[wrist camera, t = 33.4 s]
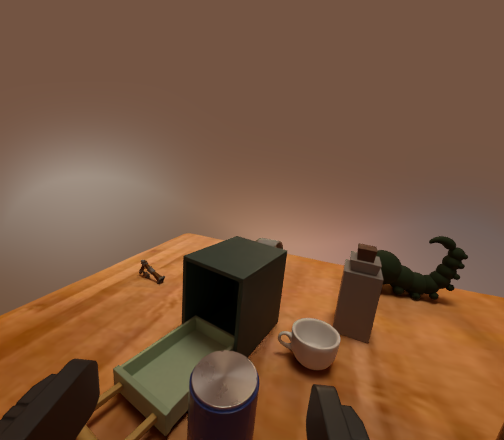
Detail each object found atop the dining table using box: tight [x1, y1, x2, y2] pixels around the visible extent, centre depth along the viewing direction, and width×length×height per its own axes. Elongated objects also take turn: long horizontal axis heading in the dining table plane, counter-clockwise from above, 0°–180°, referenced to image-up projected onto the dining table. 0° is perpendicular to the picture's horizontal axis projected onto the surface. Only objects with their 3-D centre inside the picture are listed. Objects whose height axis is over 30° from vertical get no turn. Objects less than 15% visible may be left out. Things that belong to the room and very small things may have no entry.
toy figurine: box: [376, 236, 468, 300], centre depth 67 cm, size 9×19×25 cm
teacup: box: [278, 318, 340, 370], centre depth 41 cm, size 10×8×5 cm
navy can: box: [187, 350, 259, 440], centre depth 24 cm, size 6×6×13 cm
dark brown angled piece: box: [139, 260, 165, 284], centre depth 63 cm, size 2×8×4 cm, turn 63°
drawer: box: [76, 315, 235, 440], centre depth 34 cm, size 21×10×3 cm, turn 148°
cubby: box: [182, 236, 287, 357], centre depth 45 cm, size 15×12×16 cm
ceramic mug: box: [256, 238, 283, 249], centre depth 79 cm, size 11×8×8 cm
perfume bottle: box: [333, 244, 384, 343], centre depth 49 cm, size 7×7×18 cm
